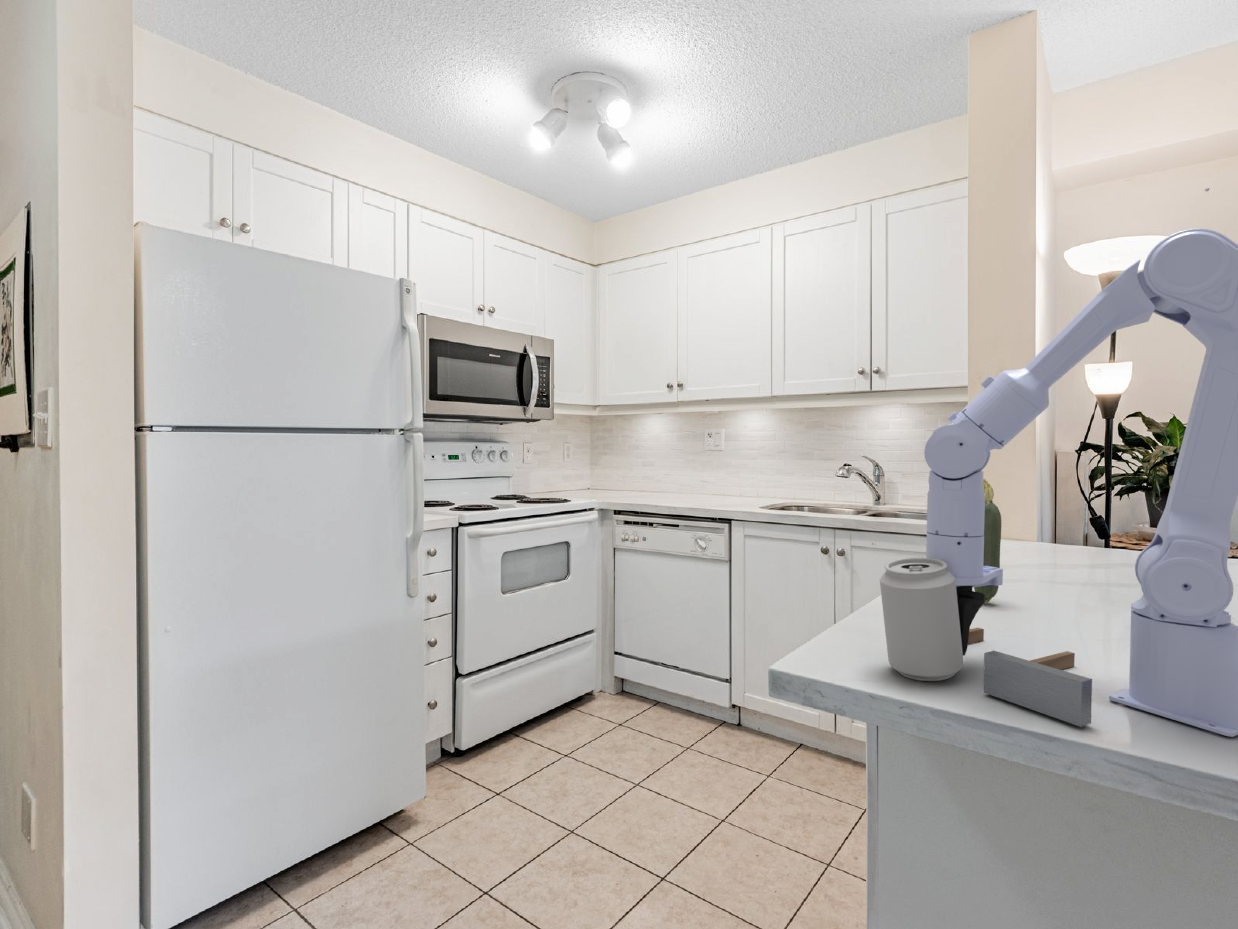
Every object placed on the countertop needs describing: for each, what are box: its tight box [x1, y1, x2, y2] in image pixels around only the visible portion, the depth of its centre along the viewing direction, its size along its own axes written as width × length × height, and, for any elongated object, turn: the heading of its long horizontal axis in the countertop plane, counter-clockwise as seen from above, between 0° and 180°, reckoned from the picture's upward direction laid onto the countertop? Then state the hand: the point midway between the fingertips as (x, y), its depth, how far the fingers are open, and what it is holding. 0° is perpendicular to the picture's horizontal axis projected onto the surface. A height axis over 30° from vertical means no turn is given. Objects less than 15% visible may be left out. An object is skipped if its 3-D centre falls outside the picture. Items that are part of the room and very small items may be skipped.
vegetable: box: [973, 477, 1002, 604], centre depth 102 cm, size 4×4×20 cm
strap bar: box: [983, 650, 1093, 728], centre depth 62 cm, size 9×2×4 cm, turn 27°
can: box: [879, 556, 964, 682], centre depth 71 cm, size 8×8×12 cm
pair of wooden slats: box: [968, 627, 1076, 670], centre depth 76 cm, size 12×14×2 cm
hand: (952, 654), depth 74 cm, fingers closed, pressing on can
